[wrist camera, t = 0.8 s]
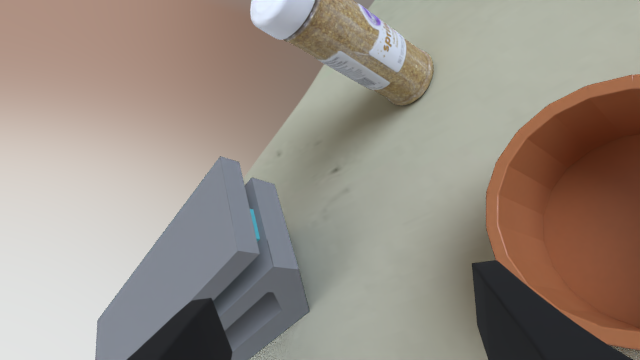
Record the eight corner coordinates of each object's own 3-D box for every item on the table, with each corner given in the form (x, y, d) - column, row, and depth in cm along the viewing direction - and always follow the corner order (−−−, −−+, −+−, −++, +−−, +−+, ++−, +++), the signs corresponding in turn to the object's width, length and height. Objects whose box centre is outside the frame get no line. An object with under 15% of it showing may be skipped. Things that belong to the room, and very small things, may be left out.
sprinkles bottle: (447, 65, 29) (304, -43, 21) (408, 117, 31) (261, 36, 22) (411, 43, 32) (275, -60, 24) (378, 91, 34) (239, 11, 25)
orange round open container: (867, 135, 14) (889, 72, 11) (779, 400, 15) (774, 422, 11) (567, 115, 22) (524, 74, 19) (510, 288, 22) (457, 279, 19)
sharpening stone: (331, 190, 35) (220, 156, 28) (363, 269, 31) (237, 250, 24) (198, 321, 47) (97, 320, 41) (205, 393, 43) (92, 404, 36)
